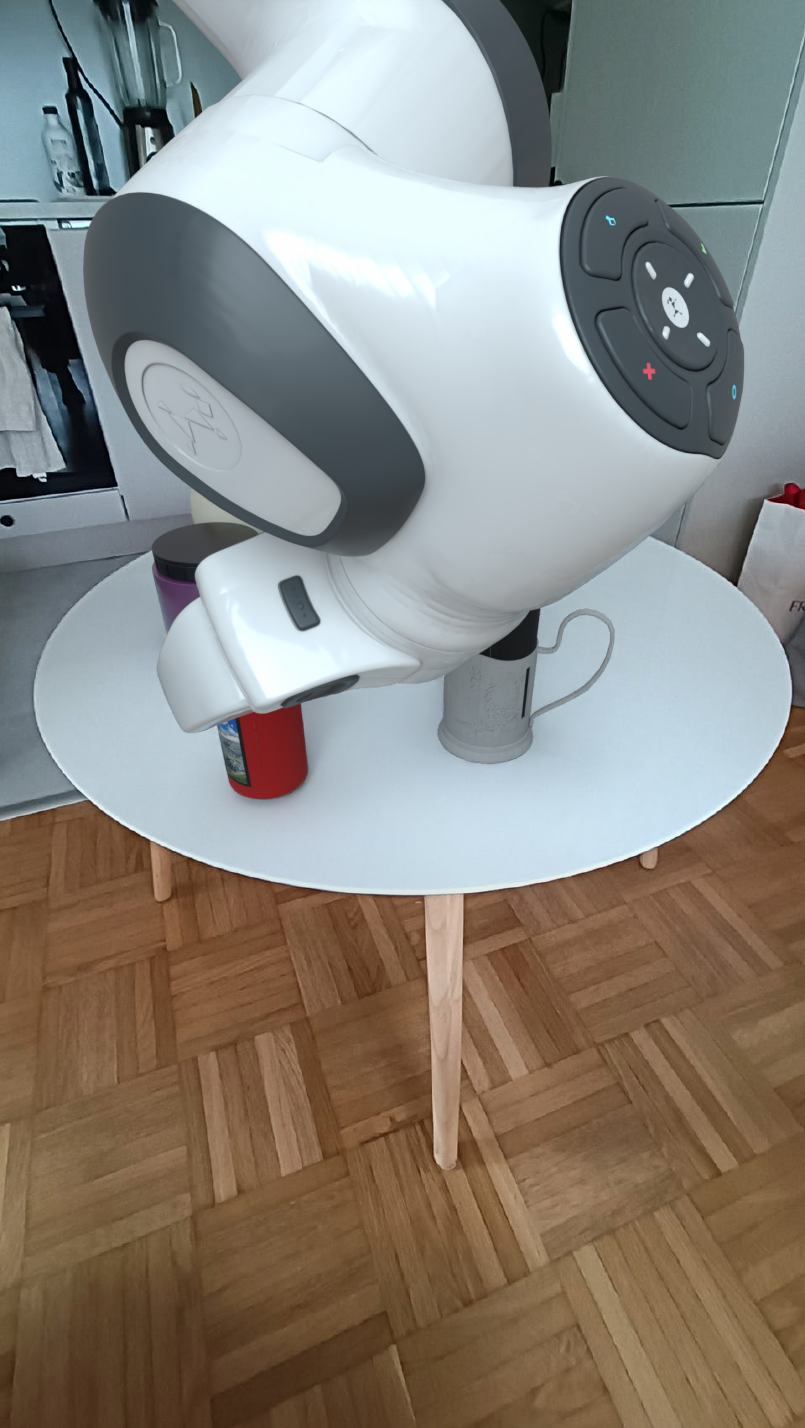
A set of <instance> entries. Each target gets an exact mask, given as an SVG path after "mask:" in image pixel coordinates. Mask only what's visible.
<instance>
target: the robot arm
mask: <svg viewBox="0 0 805 1428" xmlns="http://www.w3.org/2000/svg"><path fill="white" fill-rule="evenodd" d="M172 2H173V3H174V4H175V5H176V6H177V7H178V8H179V9H180V10H181V12H182V13H183V14H184V15H185V16H186V17H187V18H188V19H189V20H190V22H192V24H193V25H194V26H195V27H196V28H197V29H198V30H199V31H200V32H201V33H202V35H204V36H205V37H206V38H207V39H208V41H209V42H210V43H211V44H212V45H213V46H214V47H215V48H216V49H217V50H218V51H219V52H220V54H221V55H222V56H223V57H224V58H225V59H226V61H228V62H229V64H230V66H231V67H232V68H233V69H234V70H235V72H236V73H237V75H238V76H239V78H240V79H241V81H240V82H239V83H238V84H237V85H236V86H235V87H234V88H233V89H231V90H230V91H229V92H228V93H227V94H226V95H225V96H224V97H222V98H221V99H220V101H218V102H217V103H214V104H212V105H210V106H207V108H205V109H204V110H203V111H202V112H200V114H198V115H197V116H196V117H194V119H193V120H192V121H191V122H189V123H188V124H187V125H186V126H185V127H184V128H182V130H181V131H179V132H178V133H177V134H176V135H175V136H174V137H173V138H172V139H170V140H169V141H168V142H167V143H166V144H165V145H164V146H163V147H162V148H161V149H160V150H159V151H157V152H156V153H155V154H154V156H152V157H151V158H150V159H149V160H148V161H147V162H145V164H144V165H143V166H142V167H140V168H139V170H138V171H136V172H135V174H133V175H132V176H131V178H130V179H128V180H127V182H125V184H123V185H122V186H121V188H120V189H119V190H118V191H117V192H116V193H115V194H114V196H113V197H112V198H111V199H109V200H108V201H106V202H105V203H104V204H102V206H101V207H100V208H99V209H97V211H96V213H94V216H93V217H92V219H91V221H90V223H89V225H88V228H87V231H86V235H85V239H84V246H83V259H82V260H83V262H82V274H83V275H82V277H83V289H84V290H83V292H84V299H85V304H86V311H87V315H88V320H89V323H90V328H91V332H92V336H93V339H94V342H95V345H96V348H97V351H98V354H99V357H100V359H101V362H102V363H103V366H104V369H105V371H106V374H107V376H108V378H109V380H110V383H111V386H112V388H113V390H114V392H115V394H116V396H117V398H118V400H119V402H120V404H121V405H122V408H123V409H124V412H125V413H126V415H127V418H128V419H129V422H130V423H131V425H132V426H133V429H134V430H135V431H136V433H137V435H138V436H139V437H140V439H141V440H142V441H143V443H144V444H145V445H146V447H147V448H148V449H149V451H150V452H151V453H152V455H154V456H155V458H157V460H158V461H159V462H160V463H161V464H162V465H164V466H165V468H167V469H168V470H169V471H170V472H171V473H172V474H173V475H174V476H176V477H177V478H178V479H179V480H181V481H182V482H183V483H185V484H186V485H187V486H188V487H190V489H191V488H192V489H194V490H195V491H196V492H198V493H199V494H200V495H202V496H203V497H205V498H206V499H207V500H209V501H210V502H212V503H213V504H215V505H216V506H218V507H219V508H221V509H222V510H224V511H226V512H227V513H229V514H231V515H232V516H234V517H236V518H238V519H240V520H242V521H243V522H245V523H247V524H249V525H251V526H253V527H255V528H257V529H260V530H262V531H264V532H262V533H260V534H258V535H255V536H253V537H251V538H248V539H246V540H244V541H241V542H239V543H236V544H234V545H232V546H230V547H228V548H225V549H223V550H220V551H218V552H216V553H214V554H211V555H210V556H208V557H206V558H205V559H204V560H203V561H202V562H201V563H200V564H199V565H198V567H197V569H196V572H195V580H196V584H197V587H198V591H199V594H200V597H198V598H197V599H195V600H194V601H192V602H191V603H190V604H189V605H187V606H186V607H185V608H184V609H183V610H182V611H181V612H180V613H179V615H178V616H177V617H176V619H175V620H174V622H173V624H172V625H171V627H170V629H169V631H168V633H167V634H166V635H165V637H164V640H163V642H162V645H161V648H160V650H159V653H158V657H157V662H156V675H157V678H158V681H159V684H160V686H161V689H162V692H163V694H164V695H163V696H164V697H165V699H166V702H167V705H168V706H169V708H170V711H171V713H172V715H173V717H174V719H175V721H176V723H177V725H178V727H179V729H180V730H181V731H182V732H183V733H185V734H198V733H201V732H205V731H207V730H210V729H212V728H214V727H217V725H219V724H222V723H224V722H227V721H230V720H233V719H235V718H238V717H241V716H244V715H246V714H249V713H252V712H256V713H260V714H263V713H268V712H271V711H274V710H277V709H280V708H283V707H284V708H288V707H292V706H295V705H298V704H301V705H302V704H304V703H307V702H311V701H314V700H316V699H320V698H326V697H328V696H329V697H330V696H333V695H338V694H341V693H344V692H348V691H353V690H363V689H373V688H374V689H375V688H382V687H388V686H393V685H397V684H400V685H417V684H423V683H429V682H433V681H436V680H438V679H440V678H444V676H445V675H447V674H448V673H450V672H452V671H453V670H455V669H456V668H458V667H459V666H461V665H462V664H464V663H465V662H467V661H468V660H470V659H472V658H473V657H475V656H476V655H478V654H479V653H481V652H482V651H484V650H485V649H487V648H488V647H490V646H491V645H493V644H495V643H496V642H498V641H499V640H501V639H502V638H504V637H505V636H506V635H508V634H509V633H510V632H511V631H512V630H514V629H515V628H516V627H517V626H518V625H519V624H520V623H521V622H522V620H523V619H524V618H525V617H526V615H527V614H528V612H529V611H530V610H535V609H539V608H541V609H542V608H544V607H547V606H550V605H553V604H556V603H558V602H559V601H561V600H563V599H564V598H566V597H567V596H569V595H571V594H572V593H574V592H576V591H577V590H579V589H580V588H581V587H582V586H583V587H584V585H586V584H588V583H589V582H591V581H592V580H593V579H594V578H596V577H597V576H599V575H601V574H602V573H604V572H605V571H606V570H607V569H609V568H610V567H612V566H613V565H615V564H616V563H617V562H619V561H620V560H621V559H623V558H624V557H625V556H626V555H628V554H629V553H630V552H632V550H634V549H635V548H636V547H638V546H639V545H640V544H642V543H643V542H644V541H645V540H647V539H648V538H649V537H650V536H651V535H653V534H654V533H655V532H656V531H657V530H659V528H660V527H662V526H663V525H664V524H665V523H666V522H668V521H669V519H671V518H672V517H674V515H675V514H676V513H677V512H678V511H679V510H680V509H681V508H682V507H683V506H684V505H686V503H687V502H689V501H690V500H691V499H692V498H693V496H695V494H697V492H699V490H700V489H701V488H702V487H703V486H704V485H705V484H706V483H707V481H708V480H709V479H710V478H711V477H712V475H713V474H714V473H715V471H716V470H717V469H718V467H719V466H720V464H721V462H722V461H723V459H724V457H725V455H726V453H727V451H728V449H729V446H730V443H731V441H732V439H733V435H734V432H735V429H736V425H737V422H738V417H739V412H740V407H741V403H742V397H743V392H744V380H745V379H744V378H745V346H744V344H743V342H742V337H741V331H740V326H739V323H738V318H737V315H736V312H735V309H734V301H733V296H732V295H731V293H730V290H729V288H728V285H727V283H726V281H725V278H724V276H723V274H722V272H721V270H720V268H719V266H718V265H717V263H716V261H715V259H714V257H713V256H712V254H711V252H710V250H709V249H708V248H707V246H706V244H705V243H704V242H703V240H702V239H701V238H700V236H699V235H698V233H697V232H696V231H695V230H694V228H693V227H692V226H691V225H690V224H689V223H688V222H687V220H686V219H685V218H683V216H682V215H680V214H679V213H678V211H676V210H675V209H674V208H672V207H671V206H670V205H669V204H668V203H666V202H665V201H664V200H663V199H662V198H660V197H659V196H658V195H657V194H655V193H654V192H652V191H651V190H649V189H647V187H644V186H642V185H640V184H639V183H636V182H634V181H631V180H628V179H624V178H621V177H614V176H608V175H607V176H606V175H605V176H604V175H603V176H595V177H590V178H587V179H583V180H579V181H574V182H571V183H567V184H562V185H555V186H550V180H551V170H552V156H553V155H552V154H553V153H552V152H553V147H552V145H553V144H552V140H553V139H552V126H551V118H550V111H549V105H548V99H547V95H546V91H545V87H544V83H543V80H542V77H541V74H540V71H539V68H538V65H537V62H536V60H535V57H534V55H533V52H532V49H531V48H530V46H529V44H528V41H527V39H526V38H525V36H524V34H523V32H522V31H521V29H520V28H519V25H518V24H517V22H516V21H515V20H514V18H513V16H512V15H511V13H510V11H508V9H507V7H506V6H505V5H504V4H503V3H502V2H501V0H172Z"/></svg>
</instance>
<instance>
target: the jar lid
mask: <svg viewBox="0 0 805 1428" xmlns="http://www.w3.org/2000/svg"><path fill="white" fill-rule="evenodd" d="M255 535H258V532H257V531H256V530H254V529H253V528H251V527H248V526H245V525H242V524H237V523H228V522H209V523H199V524H194V523H193V524H189V525H184V526H179V527H177V528H174V529H172V530H168V531H166V532H165V533H163V534H161V535H159V536H158V537H157V538H155V540H154V541H153V542H152V544H151V552H152V557H153V563H154V562H155V566H156V569H157V571H159V572H160V573H161V574H163V575H165V576H167V577H170V578H173V579H177V580H185V581H196V580H195V572H196V569H197V567H198V565H199V564H200V563H201V562H202V561H203V560H204V559H205V558H206V557H208V556H210V555H211V554H214V553H216V552H218V551H220V550H223V549H225V548H228V547H230V546H232V545H234V544H236V543H239V542H241V541H244V540H246V539H248V538H251V537H253V536H255Z"/></svg>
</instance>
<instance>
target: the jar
mask: <svg viewBox="0 0 805 1428" xmlns="http://www.w3.org/2000/svg"><path fill="white" fill-rule="evenodd" d="M151 573H152V577H153V581H154V587H155V590H156V594H157V598H158V603H159V607H160V611H161V612H160V613H161V616H162V620H163V625H164V629H165V634H166V635H167V633H168V631H169V629H170V627H171V625H172V624H173V622H174V620H175V619H176V617H177V616H178V615H179V613H180V612H181V611H182V610H183V609H184V608H185V607H186V606H187V605H189V604H190V603H191V602H192V601H194V600H195V599H197V598H198V597H200V594H199V591H198V587H197V584H196V581H185V580H177V579H173V578H170V577H167V576H165V575H163V574H161V573H160V572H159V571H157V569H156V566H155V562H154V561H153V562H152V565H151Z"/></svg>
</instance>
